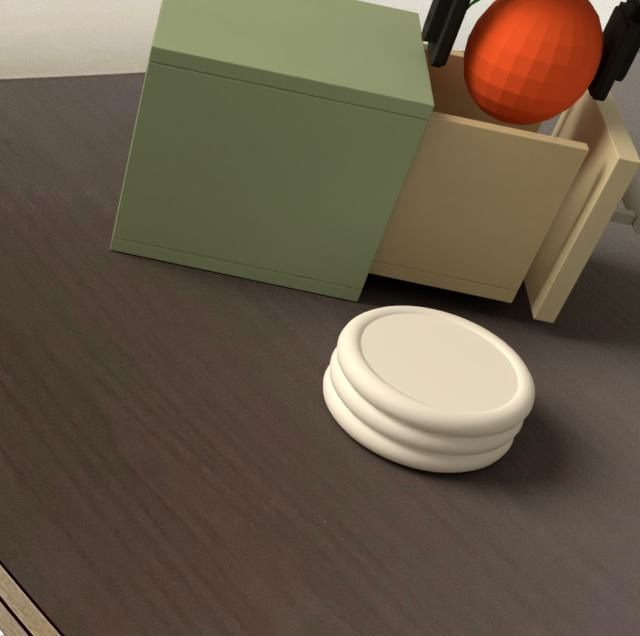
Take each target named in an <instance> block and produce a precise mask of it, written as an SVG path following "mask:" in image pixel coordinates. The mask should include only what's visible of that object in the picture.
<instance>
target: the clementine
mask: <svg viewBox="0 0 640 636" xmlns="http://www.w3.org/2000/svg"><path fill="white" fill-rule="evenodd" d="M478 2H481V0H471V1H470V4H469V6H468V9H467V11H468V10H469V9H470V8H472V6H473V5H476V4H477V3H478ZM601 23H602V22H601V18H600V15H599V13H598V12H597V10H596V9H595V6H593V4H592V2H591V1H590V0H493V2H492V3H491V4H490V5H489V6H488V7H487V8H486V9H485V10H484V12H483V13H481V15H480V16H479V17H478V19H477V20H476V22H475V24H474V25H473V27H472V28H471V31H470V32H469V34H468V36H467V40H466V44H465V48H464V51H463V52H464V79H465V83H466V86H467V89H468V92H469V94H470V96H471V97H472V99H473V100H474V102H475V103H476V104H477V106H478V107H479V108H480V109H481V110H482V111H483V112H484V113H486V114H487V115H489V116H491V117H493V118H494V119H496V120H498V121H501V122H504V123H509V124H516V125H531V124H535V123H539V122H542V123H543V122H546V121H550V120H551V119H553V118H555V117H557V116H559V115H561V114H562V112H564V111H565V110H567V109H569V108H570V107H571V106H572V105H573V104H574V103H575V102H577V101H578V100H579V99H580V98H581V97H582V96H583V95H584V93H585V92H586V90H587V88H588V87H589V85H590V84H591V82H592V81H593V79H594V77H595V76H596V74H597V71H598V68H599V65H600V62H601V59H602V56H603V43H604V36H603V31H604V30H603V28H602V24H601Z"/></svg>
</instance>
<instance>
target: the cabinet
mask: <svg viewBox="0 0 640 636" xmlns="http://www.w3.org/2000/svg"><path fill="white" fill-rule="evenodd" d="M421 35H422V26H421V20H420V15H419V12H415V11H410V10H405V9H400V8H396V7H391V6H387V5H383V4H382V5H381V4H376V3H371V2H367V1H362V0H161V3H160V7H159V12H158V15H157V20H156V24H155V28H154V32H153V37H152V42H151V45H150V50H149V56H148V59H147V65H146V71H145V75H144V79H143V84H142V90H141V95H140V99H139V104H138V110H137V114H136V119H135V122H134V123H135V124H134V128H133V132H132V133H133V134H132V138H131V143H130V148H129V153H128V158H127V162H126V168H125V171H124V172H125V173H124V178H123V183H122V186H121V187H122V188H121V192H120V197H119V201H118V207H117V211H116V216H115V223H114V226H113V231H112V236H111V242H110V246H109V250H110V251H113V252H118V253H119V252H120V253H122V254H123V253H124V254H128V255H133V256H138V257H143V258H147V259H152V260H155V261H156V260H157V261H161V262H166V263H170V264H175V265H181V266H185V267H189V268H194V269H199V270H204V271H208V272H213V273H218V274H223V275H227V276H232V277H238V278H242V279H246V280H251V281H255V282H259V283H265V284H271V285H275V286H279V287H284V288H289V289H294V290H299V291H302V292H308V293H312V294H313V293H314V294H318V295H323V296H327V297H332V298H336V299H341V300H346V301H351V302H356V303H357V302H359V299H360V296H361V294H362V291H363V288H364V286H365V283H366V281H367V279H368V276H369V274H370V273H369V271H370V268H371V266H372V263H373V261H374V258H375V256H376V253H377V250H378V248H379V245H380V243H381V240H382V238H383V235H384V233H385V230H386V228H387V225H388V223H389V220H390V217H391V215H392V212H393V210H394V207H395V205H396V202H397V200H398V197H399V195H400V192H401V190H402V187H403V185H404V182H405V179H406V177H407V174H408V172H409V169H410V167H411V164H412V162H413V159H414V157H415V154H416V152H417V149H418V146H419V144H420V141H421V139H422V136H423V134H424V131H425V129H426V126H427V124H428V120H429V119H430V116H431V114H432V111H433V109H434V100H433V94H432V88H431V83H430V77H429V71H428V65H427V60H426V54H425V48H424V44H425V43H424V41H422V38H421Z"/></svg>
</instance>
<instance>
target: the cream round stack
mask: <svg viewBox="0 0 640 636" xmlns="http://www.w3.org/2000/svg"><path fill="white" fill-rule="evenodd" d="M322 393H323V394H322V395H323V400H324V402H325V404H326V407H327V409H328V411H329V412H330V414H331V416H332V418H334V420H335V421H336V423H337V424H338V425H339V426H340V427H341V428H342V429H343V430H344V431H345V433H347V434H348V435H349V436H350V437H351V438H352V439H353V440H355V442H357V443H359V444H360V446H363V447H364V448H366V449H368V450H369V451H370V452H373V453H374V454H376V455H378V456H380V457H382V458H384V459H387V460H389V461H391V462H394V463H396V464H397V465H398V464H399V465H401V466H405V467H408V468H411V469H415V470H420V471H425V472H431V473H441V474H442V473H445V474H448V473H450V474H451V473H452V474H453V473H454V474H455V473H465V472H466V473H467V472H474V471H477V470H481V469H484V468H486V467H488V466H491V465H492V464H494V463H496V462H497V461H499V460H500V459H501V458H502V457H503V456H504V455H505V454H506V453H507V452H509V450H510V448H511V446H512V445H513V443H514V439H515V437H516V436H517V435H518V433H520V431H521V429H522V427H523V425H524V421H525V419H526V418H527V417H528V416H529V414H530V413H531V411H532V410H533V407H534V402H535V398H536V387H535V382H534V379H533V376H532V373H531V372H530V370H529V369H528V367H527V365H526V364H525V362H524V360H523V359H522V358H521V356H520V355H519V354H518V353H517V352H516V351H515V350H514V349H513V347H511V346H510V345H509V344H508V343H507V342H506V341H504V340H503V339H502V338H501V337H499V336H498V335H496V334H494V333H493V332H491V331H490V330H488V329H486V328H485V327H483V326H481V325H479V324H477V323H475V322H473V321H471V320H468V319H466V318H464V317H461V316H459V315H456V314H452V313H449V312H447V311H444V310H438V309H435V308H429V307H425V306H424V307H423V306H418V305H417V306H416V305H415V306H414V305H390V306H389V305H388V306H383V307H377V308H374V309H370V310H368V311H364V312H362V313H361V314H360V313H359V314H358V315H356V316H355V317H354V318H352V319H351V320H349V322H348V323H347V324H346V325H345V326H344V328H343V329H342V330H341V332H340V334H339V336H338V339H337V342H336V347H335V348H334V350H333V352H332V354H331V357H330V361H329V365H328V366H327V368H326V369H325V372H324V375H323V379H322Z"/></svg>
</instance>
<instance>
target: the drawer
mask: <svg viewBox="0 0 640 636" xmlns="http://www.w3.org/2000/svg"><path fill="white" fill-rule="evenodd" d="M427 45H428V43H424V48H425V54H426V60H427V65H428V71H429V77H430V83H431V88H432V94H433V100H434V109H433V111H432V114H431V116H430V119H429V120H428V124H427V126H426V129H425V131H424V134H423V136H422V139H421V141H420V144H419V146H418V149H417V152H416V154H415V157H414V159H413V162H412V164H411V167H410V169H409V172H408V174H407V177H406V179H405V182H404V185H403V187H402V190H401V192H400V195H399V197H398V200H397V202H396V205H395V207H394V210H393V212H392V215H391V217H390V220H389V223H388V225H387V228H386V230H385V233H384V235H383V238H382V240H381V243H380V245H379V248H378V250H377V253H376V256H375V258H374V261H373V263H372V266H371V268H370V271H369V273H368V274H372V275H377V276H381V277H386V278H391V279H395V280H400V281H405V282H409V283H415V284H419V285H424V286H429V287H433V288H437V289H442V290H447V291H452V292H457V293H461V294H467V295H470V296H475V297H480V298H485V299H488V300H489V299H490V300H495V301H500V302H504V303H508V304H512V303H513V301H514V300H515V298H516V296H517V293H518V291H519V289H520V287H521V285H522V283H523V282H524V286H525V290H526V293H527V294H526V295H527V298H528V303H529V306H530V311H531V314H532V319H533V320H536V321H540V322H546V323H551V324H554V323H555V321H556V320H557V318H558V316H559V314H560V312H561V310H562V308H563V306H564V305H565V303H566V301H567V299H568V298H569V295H570V294H571V292H572V290H573V288H574V286H575V285H576V283H577V281H578V279H579V277H580V276H581V274H582V273H583V270H584V269H585V266H586V265H587V263H588V261H589V259H590V257H591V255H592V253H593V252H594V250H595V248H596V247H597V244H598V243H599V241H600V240H601V237H602V235H603V233H604V232H605V230H606V228H607V226H608V224H609V222H614V223H618V224H623V225H628V226H631V227H632V229H633V231H634V232H635V233H636V234H638V235H640V176H639V173H638V172H637V171H638V169H639V168H640V156H639V154H638V152H637V149H636V147H635V145H634V142H633V140H632V138H631V135H630V133H629V131H628V128H627V126H626V124H625V121H624V119H623V117H622V114H621V112H620V110H619V107H618V105H617V103H616V100H615V98H614V95H613V93H612V90H610V92H609V94H608V96H607V98H606V99H605V100H604V101H598V100H593V98H592V96H590V94H589V91H588V89H587V90H586V92H585V93H584V95H583V96H582V97H581V98H580V99H579V100H578V101H577V102H575V103H574V104H573V105H572V106H571V107H570V108H569V109H567V110H565V111H564V112H562V113H560V116H559V118H558V120H557V123H556V125H555V126H554V129H553V130H552V133H551V134H550V135H547V134H543V133H538V132H539V129H540V128H541V125H542V123H543V122H539V123H535V124H531V125H516V124H509V123H504V122H501V121H498V120H496V119H494V118H493V117H491V116H489V115H487V114H486V113H484V112H483V111H482V110H481V109H480V108H479V107H478V106H477V104H476V103H475V102H474V100H473V99H472V97H471V96H470V94H469V92H468V89H467V86H466V83H465V79H464V51H461V50H457V49H452V50H451V53H450V55H449V58H448V60H447V63H446V65H445V66H441V68H438V67H433V66H430V60H429V55H428V49H427ZM621 201H622V204H623V206H624V208H621V207H618V206H619V204H620V202H621Z"/></svg>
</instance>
